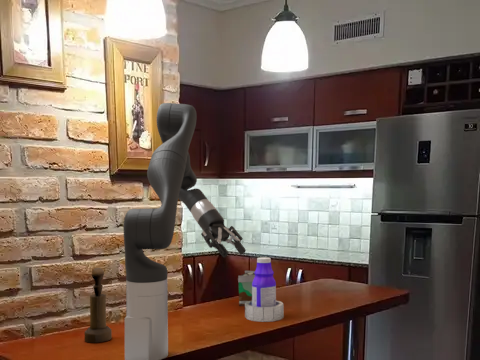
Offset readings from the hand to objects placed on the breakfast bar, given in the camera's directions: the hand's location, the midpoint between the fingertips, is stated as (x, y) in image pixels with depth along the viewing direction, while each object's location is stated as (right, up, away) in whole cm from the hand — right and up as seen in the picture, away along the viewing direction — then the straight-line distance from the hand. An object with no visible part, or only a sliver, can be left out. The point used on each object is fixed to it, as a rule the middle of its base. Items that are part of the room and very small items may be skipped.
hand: (235, 254), depth 157 cm
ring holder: (+9, -17, -7) cm, 21 cm away
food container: (+5, -18, +12) cm, 23 cm away
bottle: (+9, -18, -7) cm, 21 cm away
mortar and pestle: (-34, -18, -29) cm, 48 cm away
